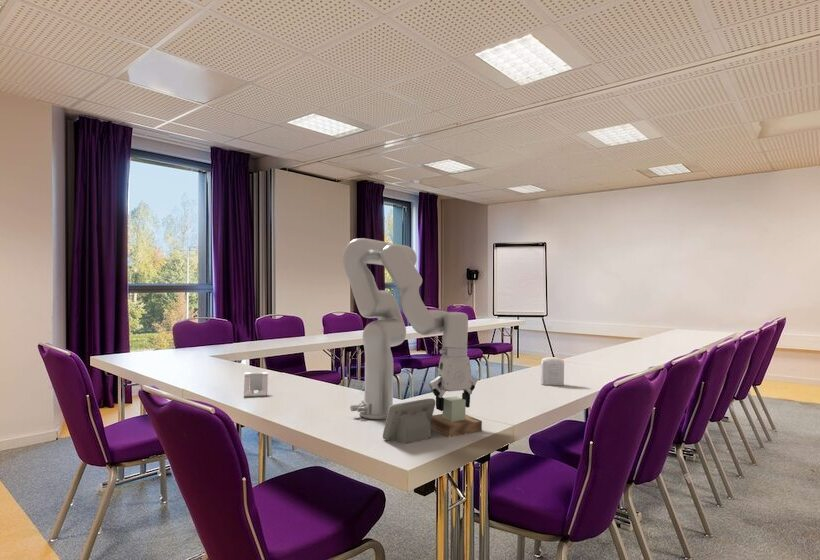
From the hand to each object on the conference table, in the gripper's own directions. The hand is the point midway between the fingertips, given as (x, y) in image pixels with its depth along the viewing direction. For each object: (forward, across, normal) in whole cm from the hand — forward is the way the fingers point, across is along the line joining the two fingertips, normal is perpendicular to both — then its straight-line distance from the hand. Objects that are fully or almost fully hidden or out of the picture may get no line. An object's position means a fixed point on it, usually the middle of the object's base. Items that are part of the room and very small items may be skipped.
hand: (452, 408), depth 146 cm
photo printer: (+6, +78, +34) cm, 85 cm away
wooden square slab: (+6, 0, 0) cm, 6 cm away
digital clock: (+6, -16, -2) cm, 18 cm away
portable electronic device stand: (+8, -44, +70) cm, 83 cm away
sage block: (+3, 0, 0) cm, 3 cm away
